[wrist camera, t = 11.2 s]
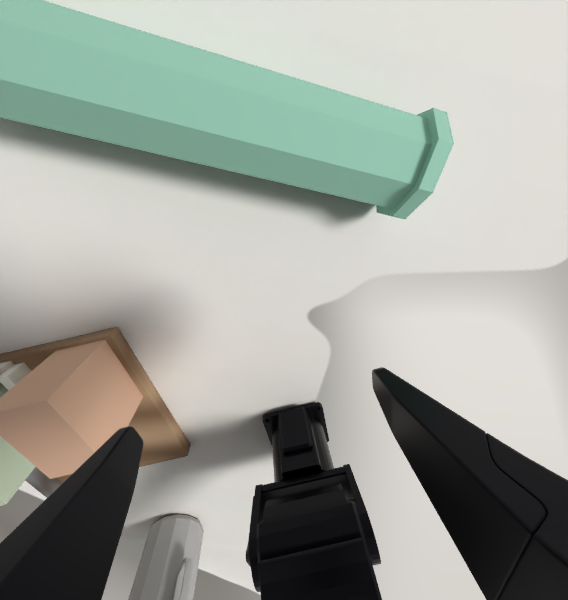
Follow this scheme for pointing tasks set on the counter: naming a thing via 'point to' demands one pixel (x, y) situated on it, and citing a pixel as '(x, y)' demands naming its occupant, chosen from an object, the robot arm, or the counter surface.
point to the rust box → (68, 407)
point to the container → (212, 109)
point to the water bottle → (169, 560)
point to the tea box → (11, 466)
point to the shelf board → (147, 419)
